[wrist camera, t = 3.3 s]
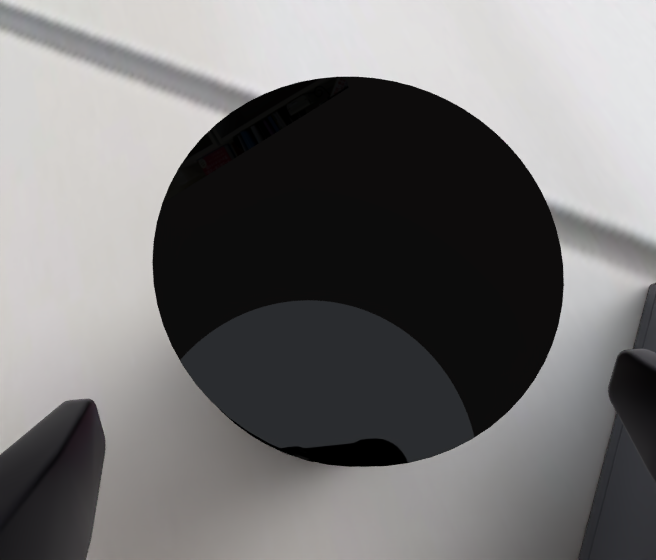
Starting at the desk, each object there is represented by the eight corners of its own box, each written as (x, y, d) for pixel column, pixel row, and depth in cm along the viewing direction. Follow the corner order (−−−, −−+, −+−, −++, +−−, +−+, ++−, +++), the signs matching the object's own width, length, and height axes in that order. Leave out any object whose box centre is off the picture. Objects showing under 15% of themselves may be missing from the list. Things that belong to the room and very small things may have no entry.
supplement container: (213, 275, 19) (140, 88, 9) (397, 254, 20) (510, 62, 10) (230, 474, 17) (162, 505, 7) (433, 442, 18) (618, 432, 8)
